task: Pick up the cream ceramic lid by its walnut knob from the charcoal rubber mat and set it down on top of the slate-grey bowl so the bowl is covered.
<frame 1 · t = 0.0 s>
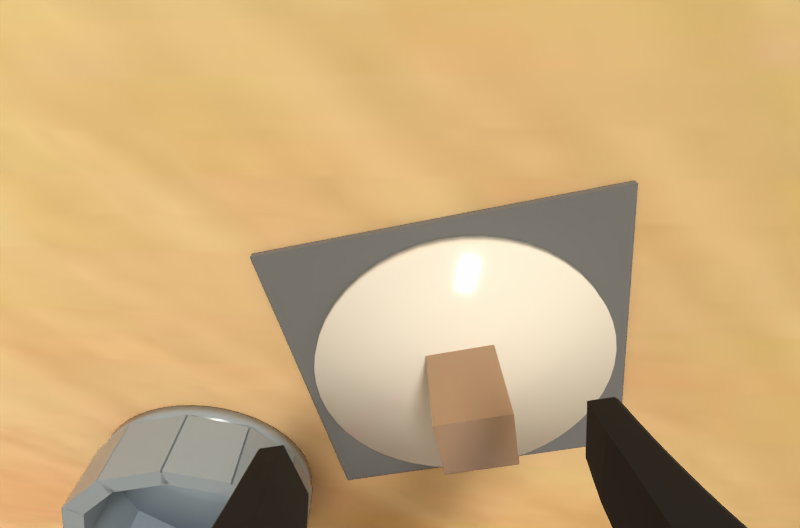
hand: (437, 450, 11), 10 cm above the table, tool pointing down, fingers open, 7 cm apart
bowl: (211, 474, 28), on the table
lid: (462, 362, 23), resting on mat
mat: (461, 359, 23), on the table
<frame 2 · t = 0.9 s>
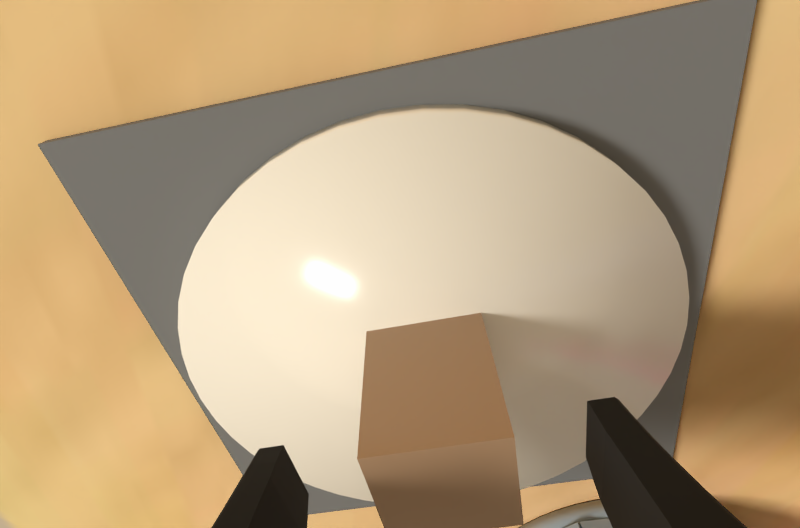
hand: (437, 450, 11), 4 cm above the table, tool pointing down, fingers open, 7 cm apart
lid: (430, 345, 14), resting on mat
mat: (429, 339, 14), on the table
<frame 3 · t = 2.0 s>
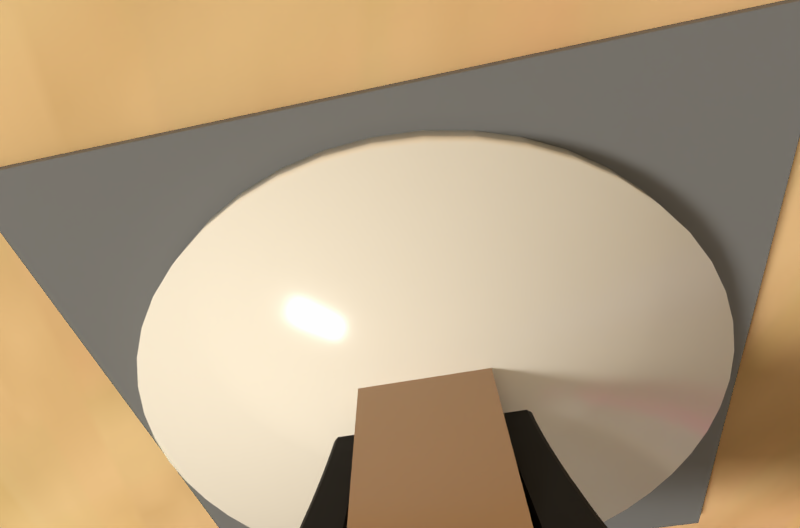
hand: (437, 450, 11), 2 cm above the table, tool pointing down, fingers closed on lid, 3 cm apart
lid: (432, 398, 12), resting on mat, touching gripper
mat: (431, 390, 13), on the table
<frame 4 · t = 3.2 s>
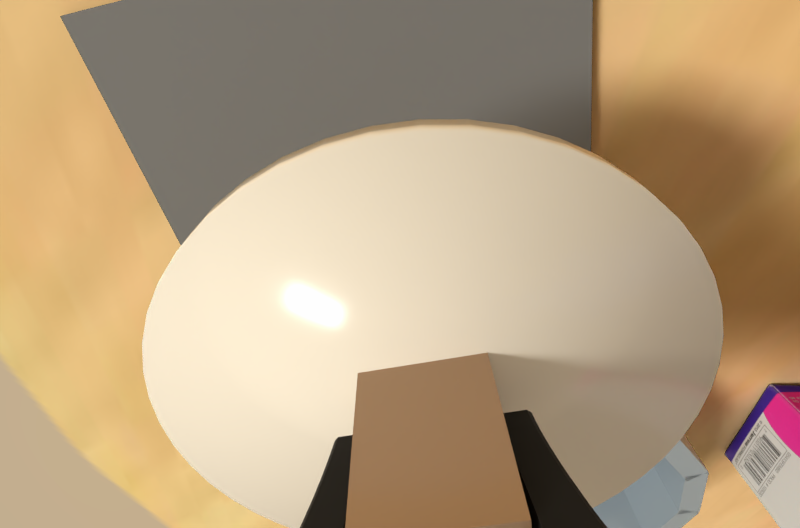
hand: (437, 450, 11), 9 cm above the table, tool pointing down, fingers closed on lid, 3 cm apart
supplement box: (792, 417, 25), on the table
bowl: (548, 439, 25), on the table
lid: (429, 383, 13), point 7 cm above the table, touching gripper
mat: (376, 198, 18), on the table
when the fingers open (7 cm above the table, at t = 4.8 s): lid stays where it is, resting on bowl.
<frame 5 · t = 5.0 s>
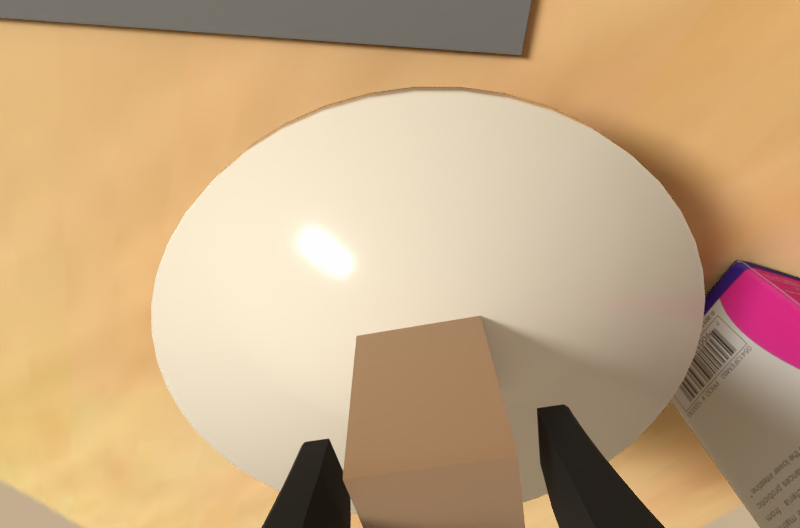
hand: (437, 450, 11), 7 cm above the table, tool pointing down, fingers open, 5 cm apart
supplement box: (744, 329, 19), on the table
lid: (425, 350, 13), point 4 cm above the table, touching bowl
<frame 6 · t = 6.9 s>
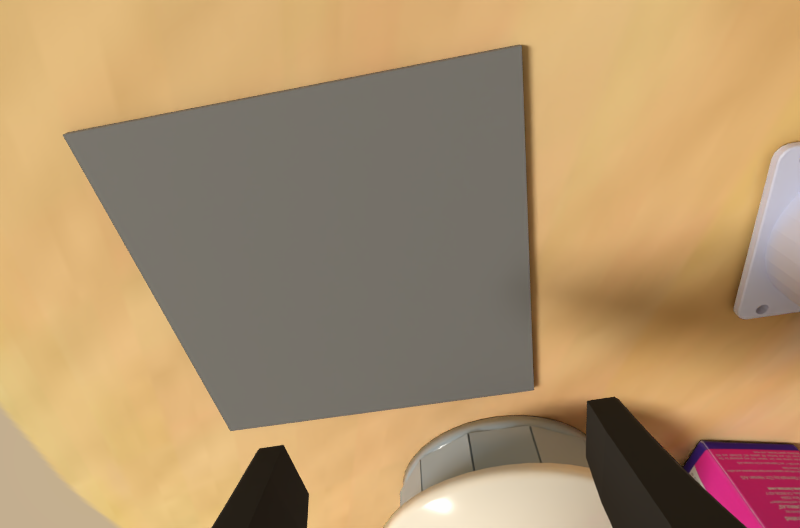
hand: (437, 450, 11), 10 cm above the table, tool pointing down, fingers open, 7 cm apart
supplement box: (724, 467, 28), on the table
bowl: (502, 483, 28), on the table
mat: (341, 281, 20), on the table
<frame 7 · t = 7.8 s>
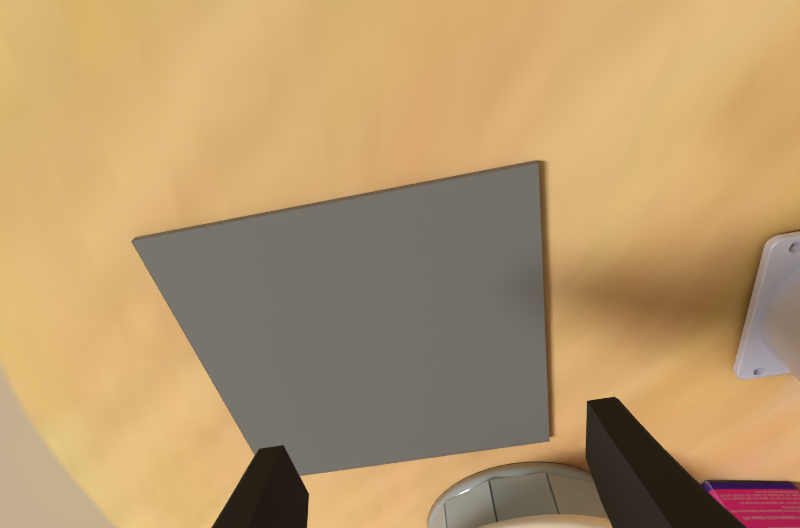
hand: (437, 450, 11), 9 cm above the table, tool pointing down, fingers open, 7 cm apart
supplement box: (728, 503, 29), on the table
bowl: (520, 520, 30), on the table
mat: (373, 352, 22), on the table
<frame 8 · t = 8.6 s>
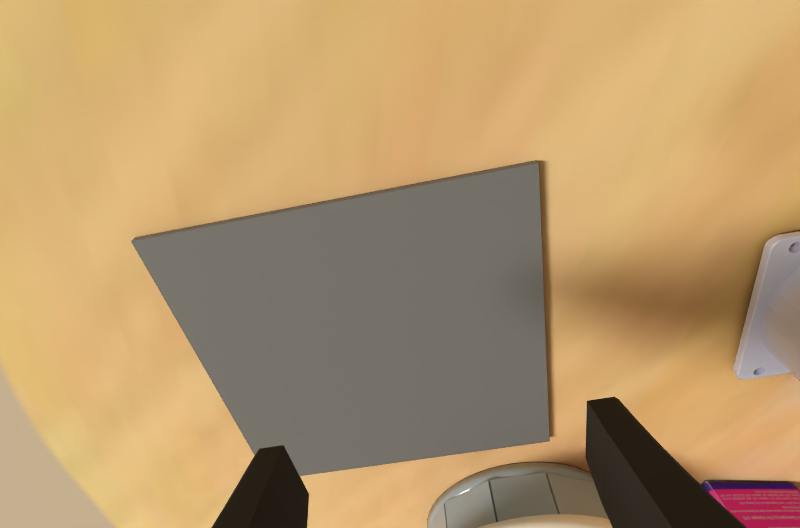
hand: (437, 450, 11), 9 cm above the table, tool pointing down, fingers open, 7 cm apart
supplement box: (728, 503, 29), on the table
bowl: (520, 520, 30), on the table
mat: (373, 352, 22), on the table
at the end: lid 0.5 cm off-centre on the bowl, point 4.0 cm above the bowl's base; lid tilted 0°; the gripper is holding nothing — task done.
